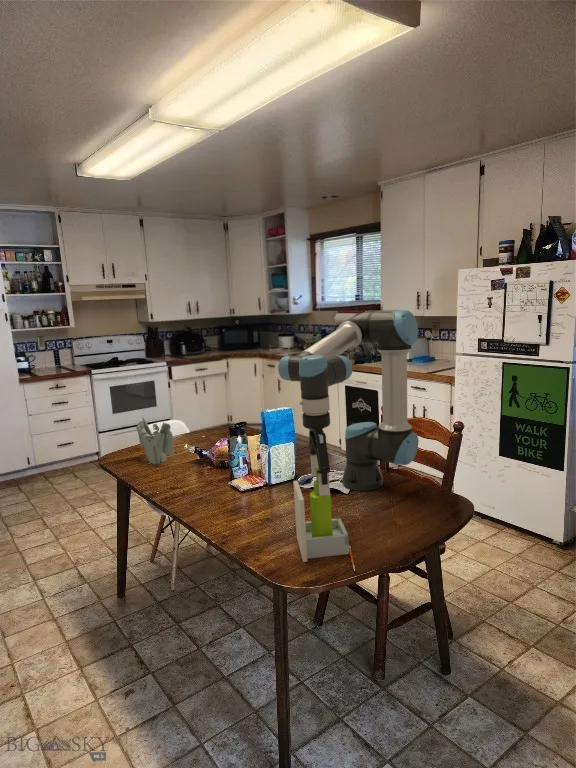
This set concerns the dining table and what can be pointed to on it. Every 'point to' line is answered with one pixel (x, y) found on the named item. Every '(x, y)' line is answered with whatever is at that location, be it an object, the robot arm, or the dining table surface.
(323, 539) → the cup bracket
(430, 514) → the dining table surface
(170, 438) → the grey pronged sculpture
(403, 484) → the dining table surface
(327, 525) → the soap dispenser
